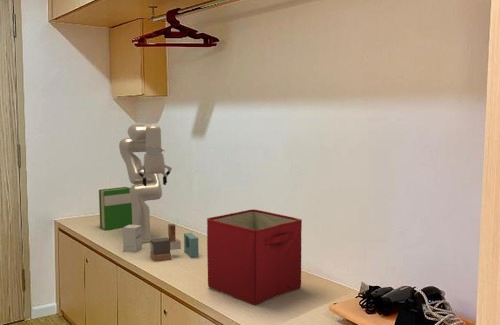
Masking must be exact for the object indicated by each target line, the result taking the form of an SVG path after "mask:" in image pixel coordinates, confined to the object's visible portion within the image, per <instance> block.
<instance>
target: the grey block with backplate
mask: <svg viewBox="0 0 500 325" xmlns="http://www.w3.org/2000/svg"><path fill="white" fill-rule="evenodd" d="M150 242H153V250H154V252H152V251H151V250H150V252H149V254H150V255H149V256H150V257H151V259H152V260H153V261H154V263H157V262H166V261H171V260H172V253H171V250H170V240H169V237H167V236H165V237H156V238H153V239H151V241H150Z"/></svg>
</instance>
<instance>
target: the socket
mask: <svg viewBox="0 0 500 325" xmlns="http://www.w3.org/2000/svg"><path fill="white" fill-rule="evenodd" d="M183 248H184V250H183V251H184V253H185V254H186V255H187V256H188V257H189V258H190V259H197V258H199V237H197V236H196V235H195V234H194V233H192V232H185V233H183Z"/></svg>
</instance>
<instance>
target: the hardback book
mask: <svg viewBox="0 0 500 325" xmlns="http://www.w3.org/2000/svg"><path fill="white" fill-rule="evenodd" d="M98 203H99V204H98V205H99V207H98V208H99V229H100V230H104V231H105V232H107V231H112V230H118V229H123V227H125V226H127V225H132V205H131V198H130V187H128V186H121V187H113V188H104V189H98Z"/></svg>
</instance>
